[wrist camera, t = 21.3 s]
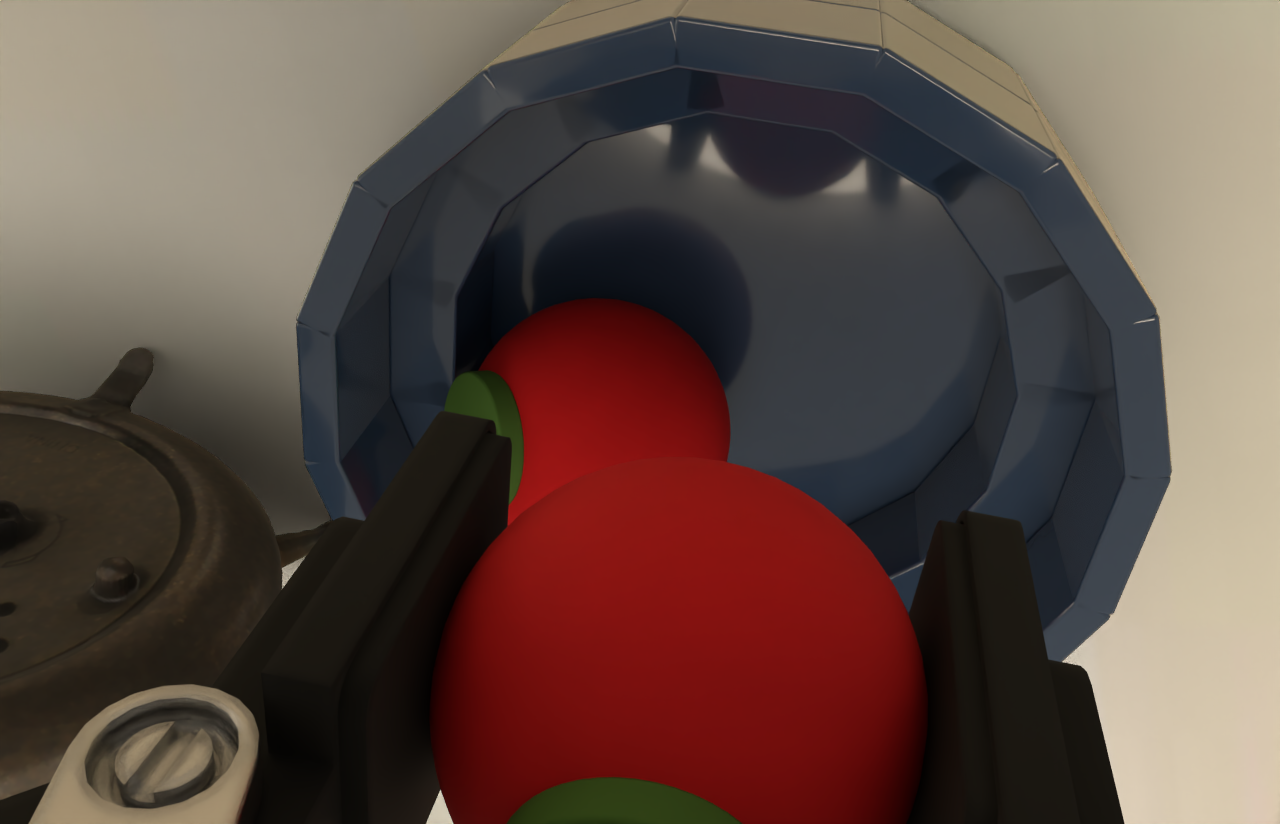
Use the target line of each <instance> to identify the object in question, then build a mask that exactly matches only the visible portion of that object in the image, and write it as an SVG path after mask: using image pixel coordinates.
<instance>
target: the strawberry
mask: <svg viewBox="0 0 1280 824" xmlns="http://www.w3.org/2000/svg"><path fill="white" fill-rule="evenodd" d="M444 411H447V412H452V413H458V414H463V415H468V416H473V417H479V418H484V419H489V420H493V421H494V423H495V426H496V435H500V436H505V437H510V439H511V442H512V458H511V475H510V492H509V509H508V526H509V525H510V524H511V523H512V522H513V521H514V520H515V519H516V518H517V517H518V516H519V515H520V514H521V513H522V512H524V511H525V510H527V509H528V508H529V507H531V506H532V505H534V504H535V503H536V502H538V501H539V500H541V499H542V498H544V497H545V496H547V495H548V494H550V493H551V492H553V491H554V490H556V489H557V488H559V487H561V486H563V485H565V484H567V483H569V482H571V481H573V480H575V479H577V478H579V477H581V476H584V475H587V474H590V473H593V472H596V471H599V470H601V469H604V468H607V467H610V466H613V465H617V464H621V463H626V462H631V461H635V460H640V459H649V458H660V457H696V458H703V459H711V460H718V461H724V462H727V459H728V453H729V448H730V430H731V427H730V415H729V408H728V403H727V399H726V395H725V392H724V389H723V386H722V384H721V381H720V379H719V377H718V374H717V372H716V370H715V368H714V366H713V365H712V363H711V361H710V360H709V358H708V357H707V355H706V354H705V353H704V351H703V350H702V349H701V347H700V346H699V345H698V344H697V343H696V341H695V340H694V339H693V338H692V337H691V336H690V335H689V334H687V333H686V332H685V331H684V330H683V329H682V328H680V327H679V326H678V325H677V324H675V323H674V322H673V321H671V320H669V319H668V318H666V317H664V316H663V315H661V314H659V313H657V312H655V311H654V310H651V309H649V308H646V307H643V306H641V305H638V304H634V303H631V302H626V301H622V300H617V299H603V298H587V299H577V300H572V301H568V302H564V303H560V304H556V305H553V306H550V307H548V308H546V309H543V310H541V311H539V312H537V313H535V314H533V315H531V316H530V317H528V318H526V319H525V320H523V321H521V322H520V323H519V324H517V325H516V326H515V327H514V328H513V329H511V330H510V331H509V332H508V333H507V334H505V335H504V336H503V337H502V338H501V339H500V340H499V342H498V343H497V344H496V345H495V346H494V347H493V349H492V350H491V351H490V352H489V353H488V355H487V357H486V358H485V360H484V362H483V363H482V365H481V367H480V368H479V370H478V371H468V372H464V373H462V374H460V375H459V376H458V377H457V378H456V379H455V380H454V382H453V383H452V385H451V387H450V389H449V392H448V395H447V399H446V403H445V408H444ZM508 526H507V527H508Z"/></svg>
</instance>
